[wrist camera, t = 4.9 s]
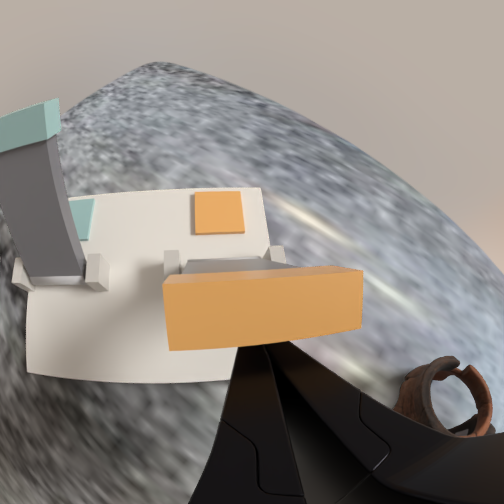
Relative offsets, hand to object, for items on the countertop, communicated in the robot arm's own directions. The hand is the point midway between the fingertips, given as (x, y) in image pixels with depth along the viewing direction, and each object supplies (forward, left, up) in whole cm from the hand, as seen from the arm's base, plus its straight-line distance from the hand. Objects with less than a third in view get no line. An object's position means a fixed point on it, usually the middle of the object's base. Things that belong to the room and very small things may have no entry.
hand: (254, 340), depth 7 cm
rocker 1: (-2, +11, -6) cm, 13 cm away
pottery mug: (+1, -17, -9) cm, 19 cm away
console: (+1, +7, -9) cm, 11 cm away
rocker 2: (+4, +3, -6) cm, 8 cm away
